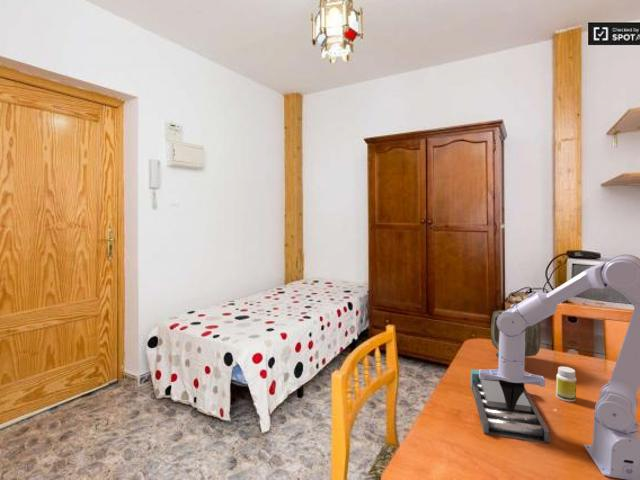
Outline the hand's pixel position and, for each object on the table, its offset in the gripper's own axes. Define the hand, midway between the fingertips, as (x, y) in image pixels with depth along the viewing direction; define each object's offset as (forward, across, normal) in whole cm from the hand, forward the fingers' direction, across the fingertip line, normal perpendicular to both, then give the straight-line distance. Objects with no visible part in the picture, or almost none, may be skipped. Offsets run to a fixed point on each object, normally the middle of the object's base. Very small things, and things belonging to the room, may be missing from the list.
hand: (509, 409), depth 89 cm
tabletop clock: (+4, -10, -41) cm, 42 cm away
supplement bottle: (+4, -18, -18) cm, 26 cm away
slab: (+1, 0, -7) cm, 7 cm away
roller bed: (+4, 0, -5) cm, 6 cm away
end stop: (+4, 0, -17) cm, 17 cm away
